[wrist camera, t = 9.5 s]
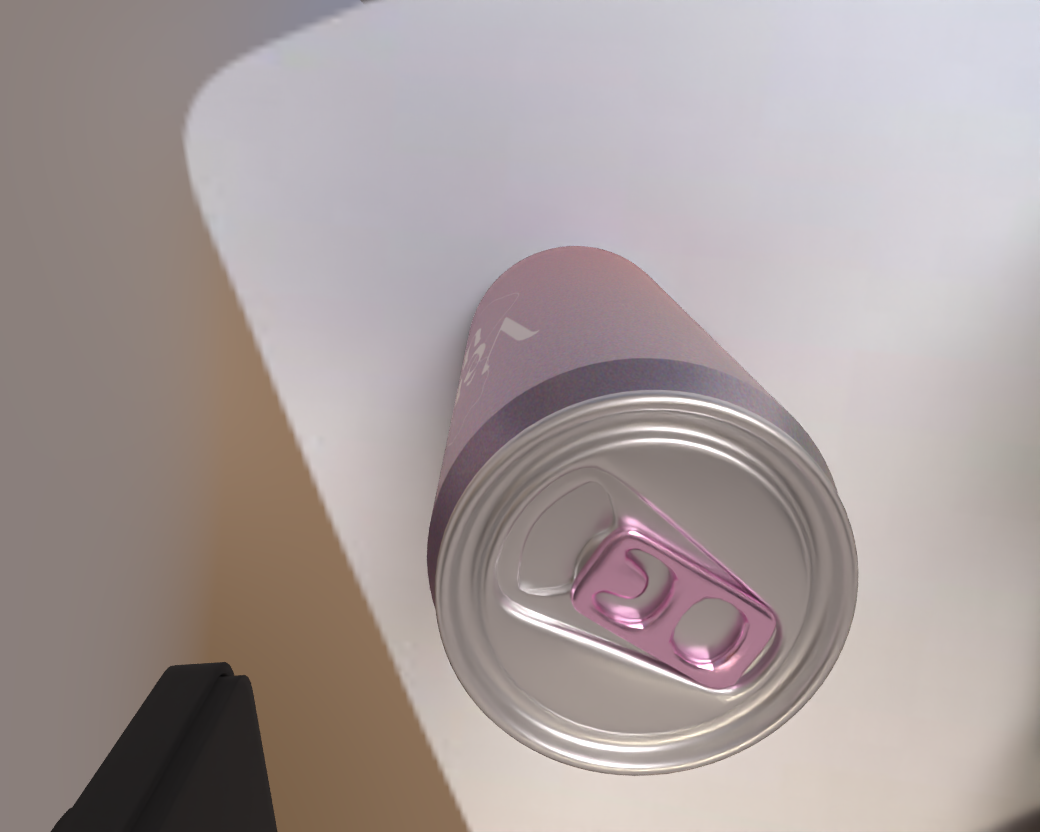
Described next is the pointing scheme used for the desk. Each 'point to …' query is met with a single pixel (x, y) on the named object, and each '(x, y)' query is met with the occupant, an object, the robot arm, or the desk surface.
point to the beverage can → (629, 528)
